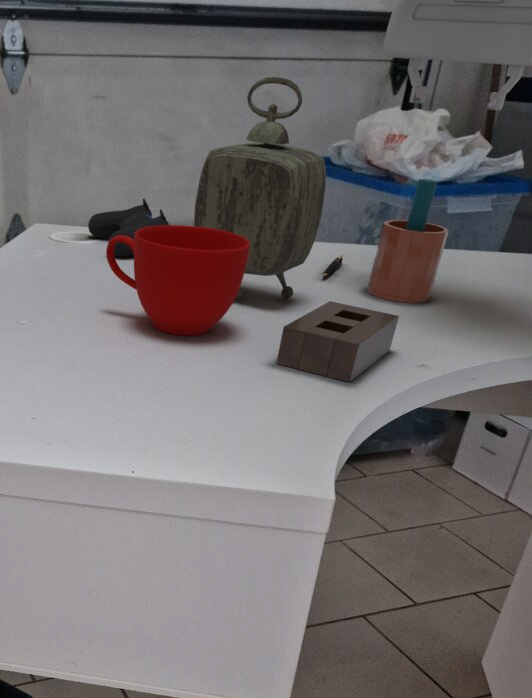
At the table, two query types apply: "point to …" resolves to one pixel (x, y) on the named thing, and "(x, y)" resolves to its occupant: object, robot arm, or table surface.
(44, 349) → the table surface
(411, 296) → the tumbler
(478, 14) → the robot arm
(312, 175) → the tabletop clock
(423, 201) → the teal square bar
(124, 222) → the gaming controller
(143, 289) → the ceramic cup
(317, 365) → the holder
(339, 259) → the fountain pen
